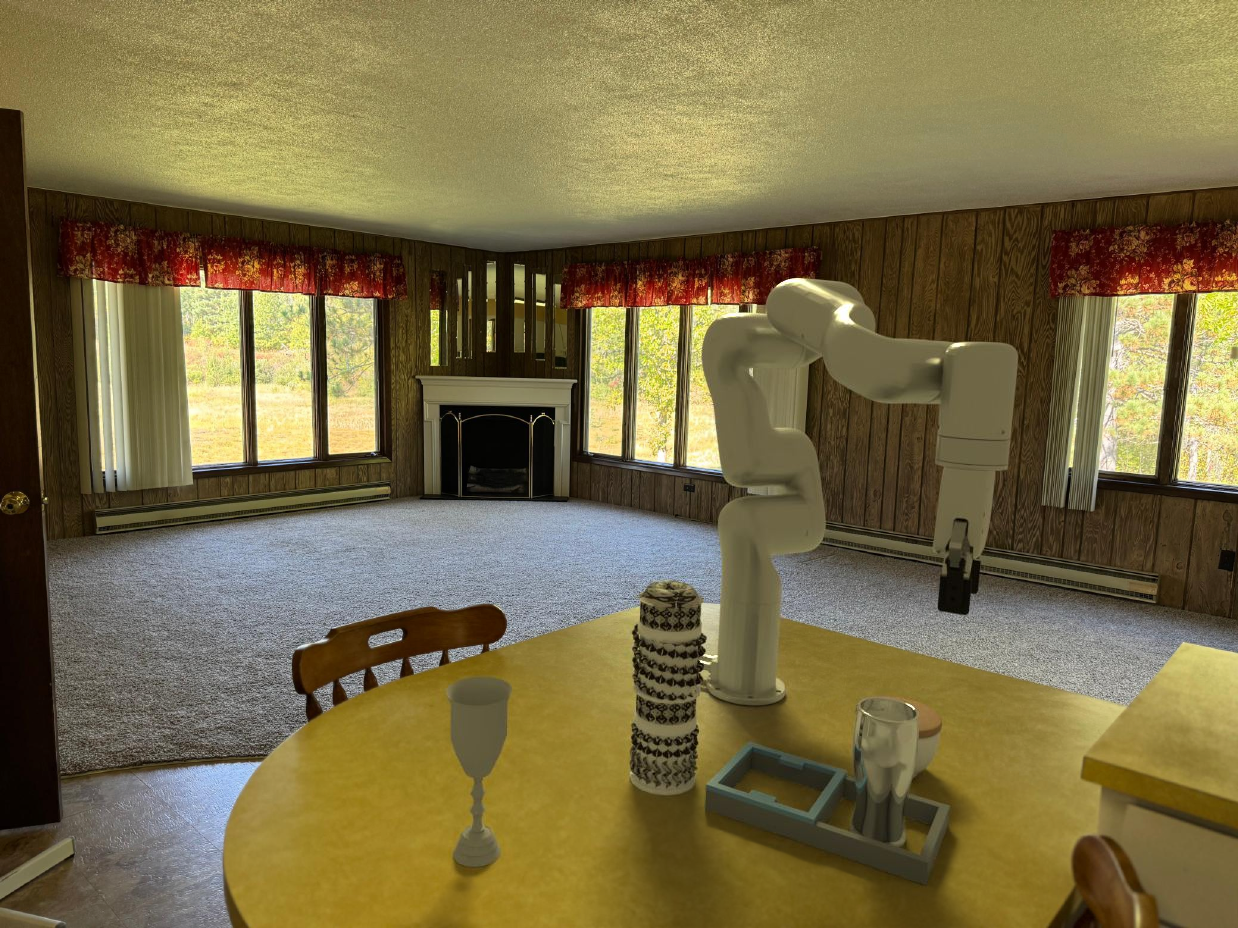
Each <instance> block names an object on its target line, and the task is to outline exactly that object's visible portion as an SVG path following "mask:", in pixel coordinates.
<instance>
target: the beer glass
mask: <svg viewBox="0 0 1238 928" xmlns="http://www.w3.org/2000/svg"><path fill="white" fill-rule="evenodd" d="M857 704H858V707H857V714H856V713H855V719H854V727H853V734H852V746H851V747H852V748H851V749H852V767H853V768H852V769H853V777H854V778H855V789H856V802H855V801H854V802H855V804H854V808H853V813H852V817H851V820H850V821H849V822H850V823H849V832H852V833H855V834H858V835H861V836H864V837H867V838H871V839H874V840H877V841H880V842H883V843H886V844H889V845H892V846H895V847H898V848H901V847H903V846H904V845H905V843H906V841H907V838H906V837H907V835H906V827H905V826H906V825H905V817H904V810H905V803H906V800H907V796H908V794H909V793H910V788H911V785H912V781H913V779H914V778H913V775H914V772H915V767H916V763H917V756H918V744H919V712H918V711H917V709H916V708H914V707H913V706H911V705H910V704H908V703H905V702H903V701H900V700H896V699H892V698H886V697H873V696H869V698H868V697H864V698H862V699H860V700H859V701H858V702H857Z"/></svg>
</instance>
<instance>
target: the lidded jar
mask: <svg viewBox="0 0 1238 928" xmlns="http://www.w3.org/2000/svg"><path fill="white" fill-rule="evenodd" d="M869 697H870V696H869ZM869 697H867V698H869ZM872 697H886V698H892V699H896V700H900V701H903V702H905V703H908V704H910V705H911V706H913V707H914V708H916V709H917V711H918V712H919V744H918V756H917V763H916V767H915V772H914V775H913V779H914V778H916V777H917V776H918V775H919V774H920V773H922V771H924V770H926V769H927V768H928V767H929V765H930V764H932V762H933V760H934V759H935V757H936V753H937V752H938V747H939V744H940V736H941V730H942V727H943V720H942V717H941V716H940V714H939V713H938V712H937V711H936V710H934V709H933V708H932V707H930V706H928V705H926V704H924V703H921V702H919V701H915V700H912V699H909V698H903V697H899V696H891V695H890V696H888V695H878V696H877V695H873V696H872ZM857 707H858V703H857V704H856V706H855V715H856V714H857Z"/></svg>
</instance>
